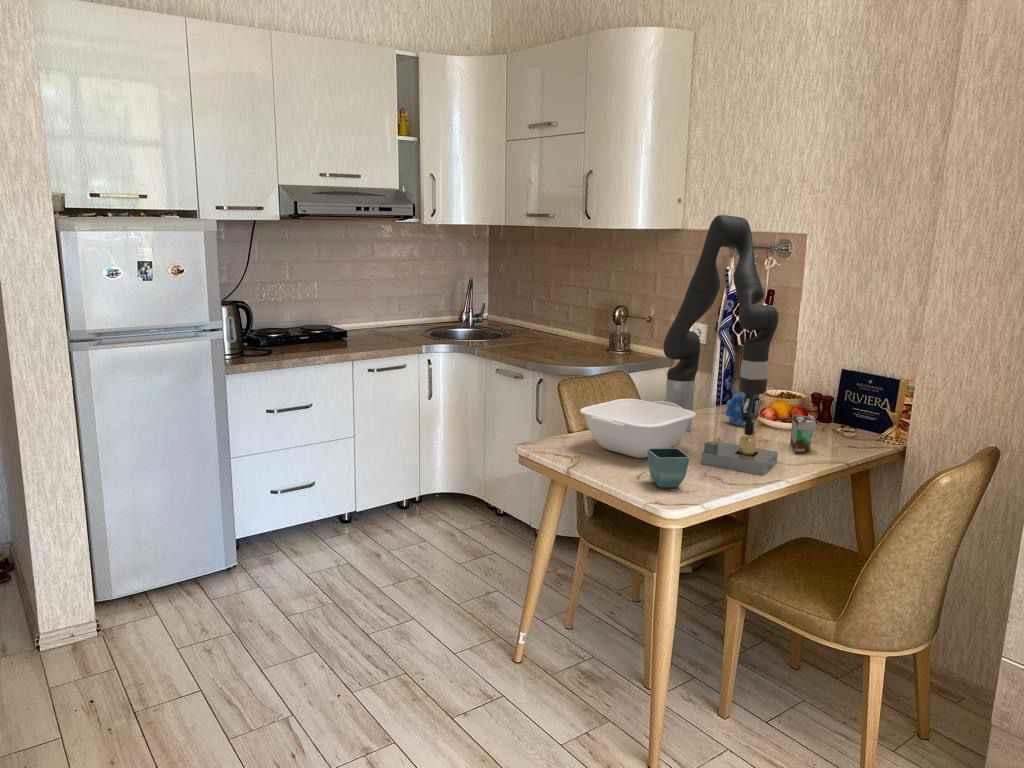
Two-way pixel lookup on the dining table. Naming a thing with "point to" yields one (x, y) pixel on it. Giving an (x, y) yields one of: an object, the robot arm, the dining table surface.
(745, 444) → the gold peg
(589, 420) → the white basin
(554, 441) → the dining table surface
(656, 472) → the flower pot
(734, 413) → the blue knobby disc
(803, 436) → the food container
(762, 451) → the plate
